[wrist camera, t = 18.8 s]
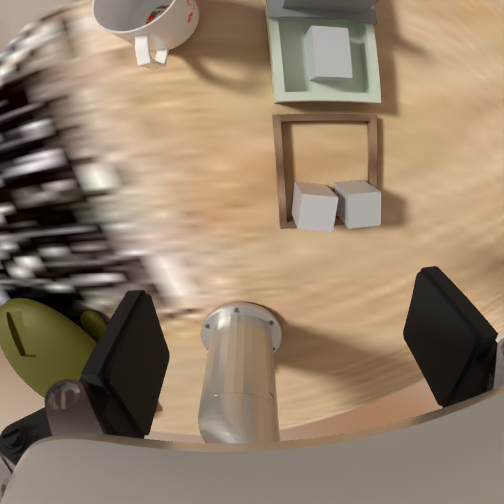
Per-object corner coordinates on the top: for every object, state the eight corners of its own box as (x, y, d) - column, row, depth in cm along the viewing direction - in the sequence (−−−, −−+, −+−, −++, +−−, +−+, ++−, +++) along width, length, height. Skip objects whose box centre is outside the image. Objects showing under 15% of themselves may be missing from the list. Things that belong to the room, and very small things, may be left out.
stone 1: (352, 78, 26) (347, 28, 24) (316, 76, 26) (311, 25, 24) (342, 81, 30) (337, 36, 27) (309, 80, 30) (305, 34, 27)
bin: (370, 103, 31) (381, 102, 28) (274, 103, 32) (276, 101, 29) (361, 17, 26) (370, 9, 23) (265, 13, 27) (266, 3, 24)
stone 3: (363, 209, 38) (380, 225, 32) (335, 212, 38) (348, 228, 32) (363, 179, 36) (381, 191, 30) (333, 182, 36) (347, 194, 31)
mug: (131, 4, 25) (92, -25, 15) (198, -12, 25) (179, -52, 15) (136, 83, 30) (94, 75, 20) (206, 69, 30) (187, 50, 20)
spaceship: (160, 409, 57) (152, 445, 48) (62, 400, 60) (49, 427, 51) (87, 274, 42) (58, 310, 34) (-10, 291, 45) (-35, 316, 36)
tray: (371, 219, 38) (374, 222, 37) (279, 225, 39) (280, 228, 37) (372, 115, 32) (376, 115, 31) (272, 115, 32) (273, 115, 31)
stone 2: (321, 214, 38) (332, 232, 33) (291, 212, 38) (297, 229, 32) (325, 184, 36) (338, 197, 31) (294, 181, 36) (302, 193, 31)
